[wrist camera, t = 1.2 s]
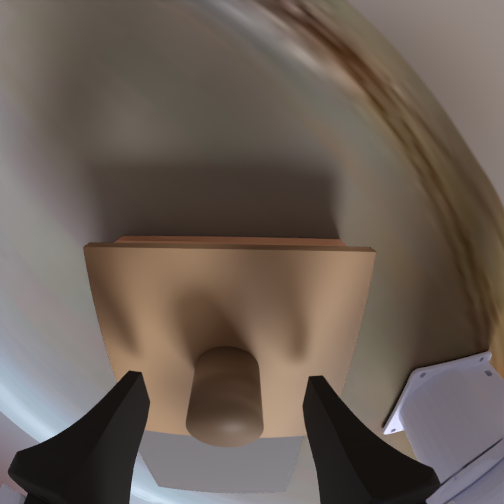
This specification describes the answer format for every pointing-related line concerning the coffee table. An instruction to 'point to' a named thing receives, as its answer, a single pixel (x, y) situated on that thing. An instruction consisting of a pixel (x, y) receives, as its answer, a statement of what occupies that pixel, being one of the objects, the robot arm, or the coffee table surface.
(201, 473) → the mat
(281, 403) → the lid
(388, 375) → the coffee table surface
